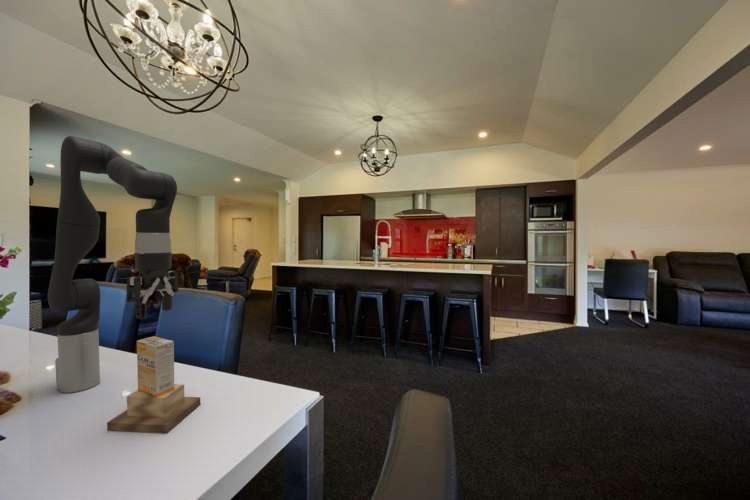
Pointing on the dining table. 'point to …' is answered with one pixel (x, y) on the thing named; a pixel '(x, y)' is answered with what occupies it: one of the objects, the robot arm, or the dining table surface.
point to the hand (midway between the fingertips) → (154, 314)
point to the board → (153, 419)
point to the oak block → (155, 403)
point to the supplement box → (155, 365)
